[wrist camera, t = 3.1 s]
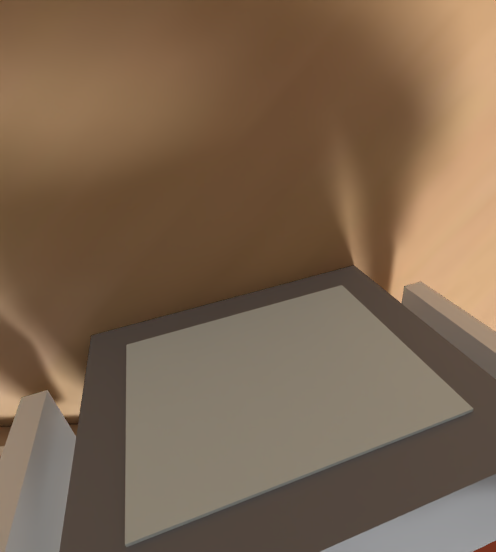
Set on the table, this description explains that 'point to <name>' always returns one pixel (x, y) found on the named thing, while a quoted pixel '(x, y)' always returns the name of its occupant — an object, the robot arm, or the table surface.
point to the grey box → (284, 430)
